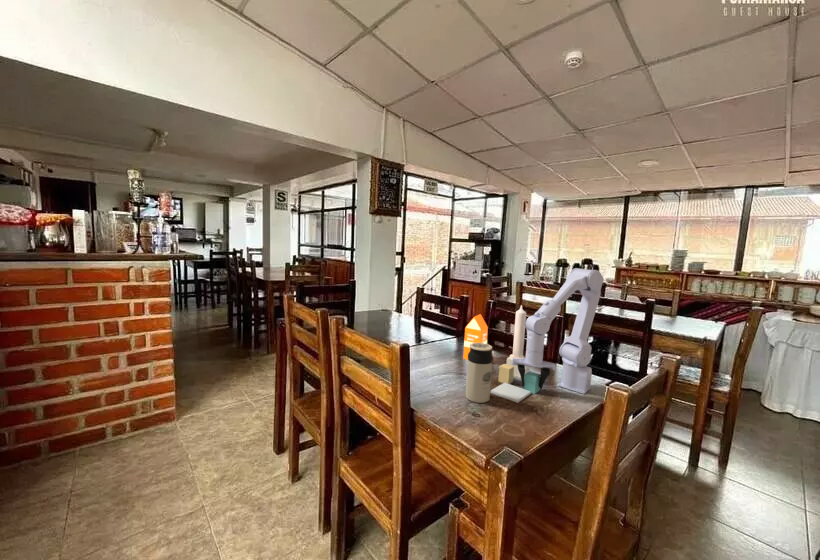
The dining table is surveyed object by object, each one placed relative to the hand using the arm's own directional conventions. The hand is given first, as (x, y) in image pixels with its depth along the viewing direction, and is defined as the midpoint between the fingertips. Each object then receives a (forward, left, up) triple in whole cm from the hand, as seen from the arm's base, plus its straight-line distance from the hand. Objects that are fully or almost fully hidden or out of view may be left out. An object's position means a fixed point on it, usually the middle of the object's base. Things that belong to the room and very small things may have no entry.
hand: (531, 386), depth 117 cm
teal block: (0, 0, -1) cm, 1 cm away
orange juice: (+32, -13, -2) cm, 35 cm away
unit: (+9, -8, -1) cm, 12 cm away
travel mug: (+10, +20, -2) cm, 22 cm away
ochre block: (+10, 0, -2) cm, 10 cm away
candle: (+19, -29, -2) cm, 35 cm away
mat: (+4, +8, -1) cm, 9 cm away
